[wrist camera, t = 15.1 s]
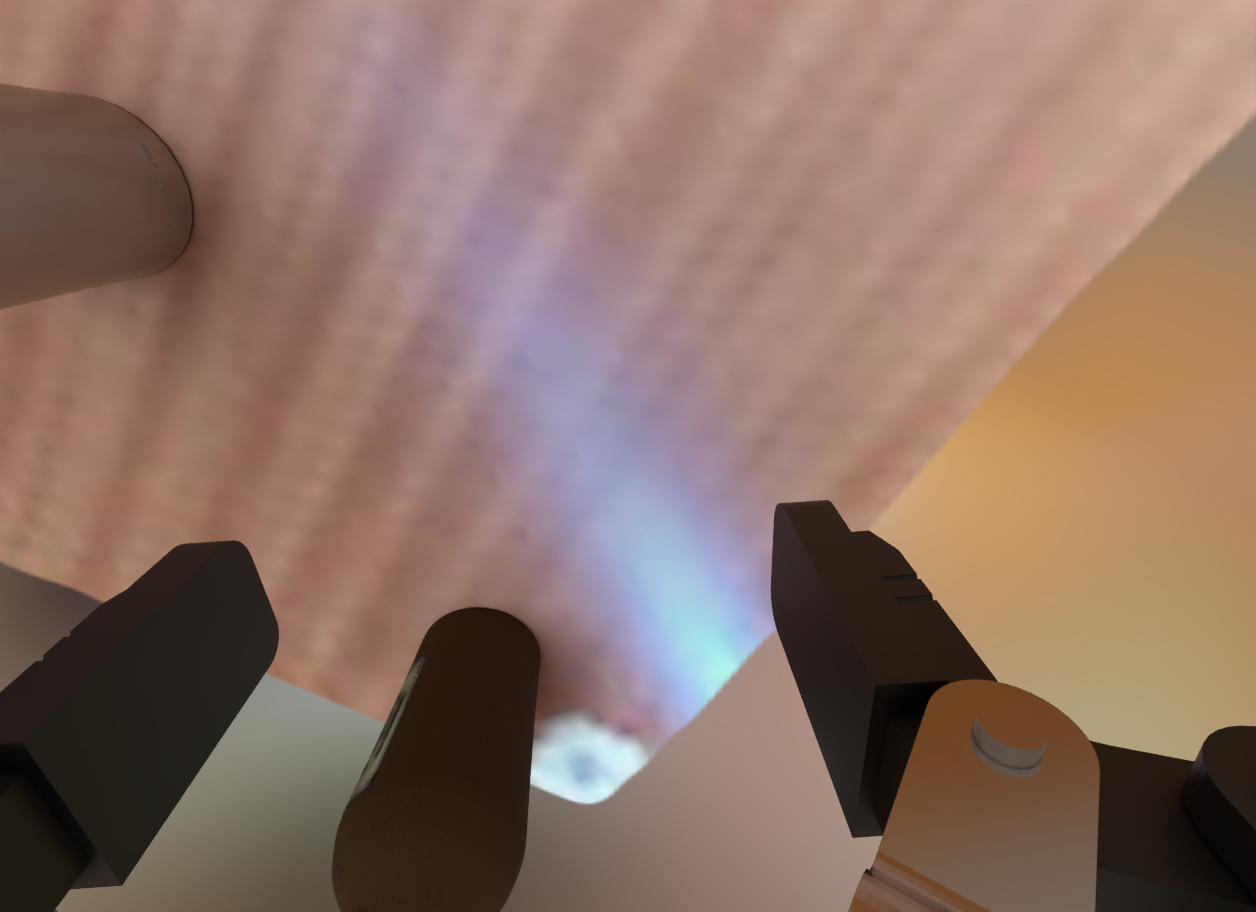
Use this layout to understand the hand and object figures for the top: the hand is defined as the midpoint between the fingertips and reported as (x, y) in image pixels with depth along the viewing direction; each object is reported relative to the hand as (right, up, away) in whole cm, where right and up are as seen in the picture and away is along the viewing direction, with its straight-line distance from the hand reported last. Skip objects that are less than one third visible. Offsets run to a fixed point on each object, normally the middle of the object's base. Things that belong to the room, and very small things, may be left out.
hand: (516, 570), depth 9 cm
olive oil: (-10, -14, +40) cm, 43 cm away
